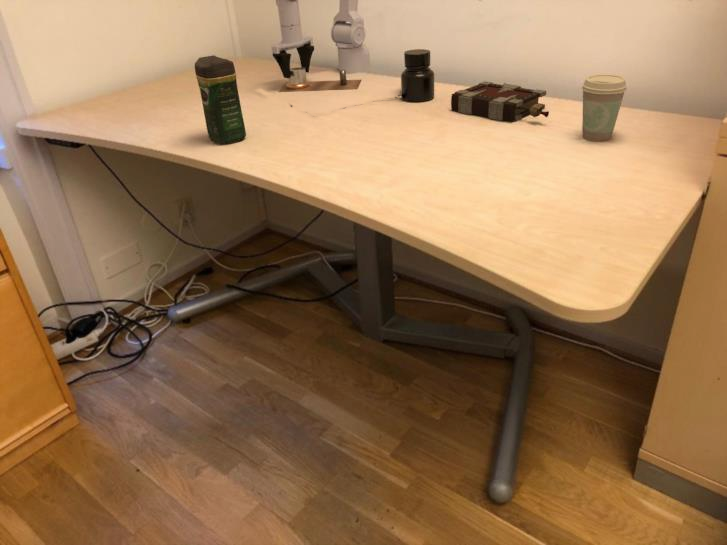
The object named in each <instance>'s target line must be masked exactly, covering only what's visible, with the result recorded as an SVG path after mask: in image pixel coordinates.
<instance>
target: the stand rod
mask: <svg viewBox="0 0 727 545" xmlns="http://www.w3.org/2000/svg"><path fill="white" fill-rule="evenodd" d="M339 80H340V84H341V86H344V85H347V82H346V80H347V74H346V70H340V71H339Z"/></svg>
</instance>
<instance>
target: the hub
mask: <svg viewBox="0 0 727 545" xmlns="http://www.w3.org/2000/svg"><path fill="white" fill-rule="evenodd" d="M293 70H299V69H293ZM287 82H288V83H286V82H285V83H286V88H287V89H292V90H296V89H303V88H307V87H309V82H310V81H309V80H307V83H306V84H302V85H290V84H289V81H287Z"/></svg>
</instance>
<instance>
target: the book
mask: <svg viewBox="0 0 727 545" xmlns="http://www.w3.org/2000/svg"><path fill="white" fill-rule="evenodd" d="M546 95H547V90H545V89H544V90H543V89H530V88H524V87H522V86H521V85H516V84H509V83H508V84H507V83H506V82H504V83H503V84H497V83H494V82H492V81H485V80H484V81H481V82H479V83H478V84H477V85H474V86H471V87H468V88H465V89H460V90H459V89H458V90H457V91H454V93H452V94H451V98H450V103H451V104H450V108H451V109H450V110H451V111H454V112H458V113H461V114H465V115H468V116H470V115H475V116H479V117H484V118H488V119H490V120H492V121H497V122H498V121H499V122H503V121H504V122H510V123H513V122H518V121H520V120H522V119H523V118H524V117H527V116H528V115H530V116H531V117H533V118H538V117H539V116H540V115H543V116H544V117H545V118H548V116H549V114H550V112H549V111H543V110H545V108H546V104H544V103H539V98H542V97H543V98H544V97H545V96H546Z"/></svg>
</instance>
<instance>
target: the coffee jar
mask: <svg viewBox="0 0 727 545" xmlns="http://www.w3.org/2000/svg"><path fill="white" fill-rule="evenodd" d="M194 72H195V77H196V81H197V86H198V87H199V94H200V97H201V102H202V103H201V104H202V107H203V115H204V120H205V125H206V131H207V135H208V138H209V139H210V140H211V141H213V142H215V143H218V144H228V143H229V144H233V143H238V142H239V141H241V140H243V139H245V138H246V136H247V132H246V125H245V120H244V117H243V116H244V115H243V111H242V105H241V101H240V96H239V95H240V94H239V89H238V84H237V83H238V82H237V73H236V69H235V65H234V62H233V61H232V60H229V59H227V58H223V57H219V56H216V55H215V54H214V55H207V56H201V57H198V59H197V60H196V61H195V63H194Z"/></svg>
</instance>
